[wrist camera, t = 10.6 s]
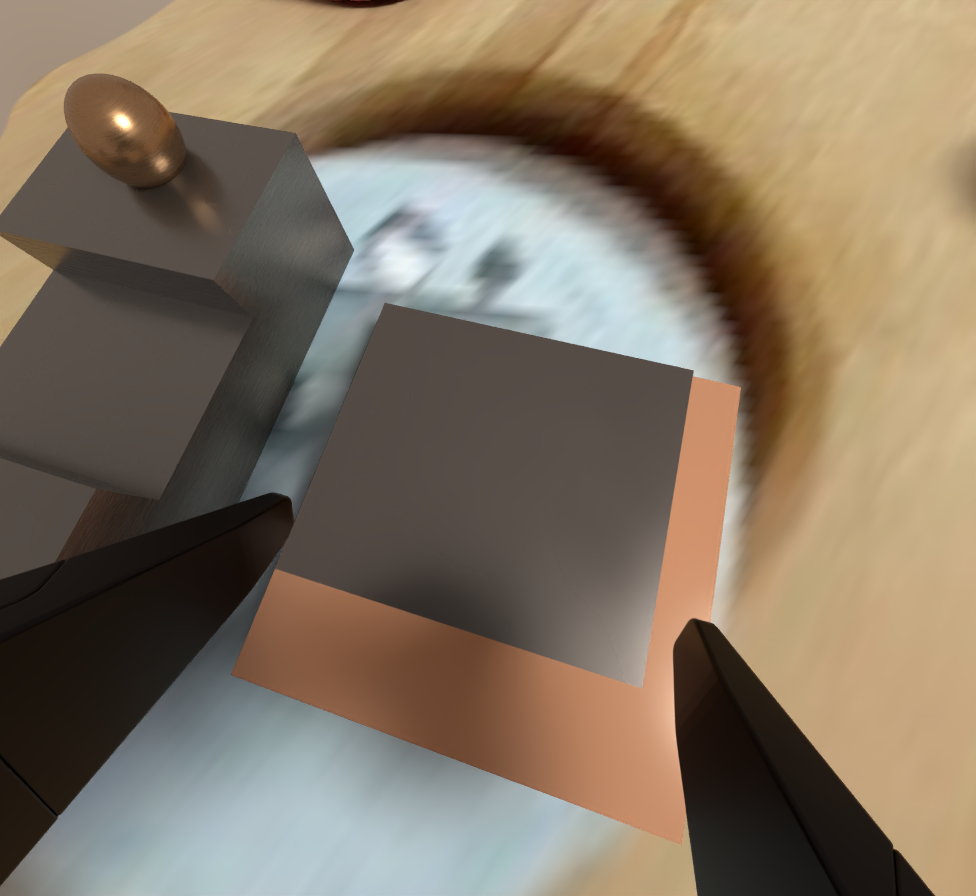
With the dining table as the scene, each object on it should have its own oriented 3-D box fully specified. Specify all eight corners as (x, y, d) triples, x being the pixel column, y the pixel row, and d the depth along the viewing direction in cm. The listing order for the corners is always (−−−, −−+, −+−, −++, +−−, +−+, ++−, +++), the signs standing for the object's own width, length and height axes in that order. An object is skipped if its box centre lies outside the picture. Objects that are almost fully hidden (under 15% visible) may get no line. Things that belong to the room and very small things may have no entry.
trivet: (655, 801, 13) (681, 844, 11) (268, 659, 14) (231, 674, 12) (713, 408, 16) (740, 387, 14) (397, 334, 18) (384, 307, 16)
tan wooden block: (561, 610, 12) (641, 689, 5) (413, 564, 13) (275, 568, 5) (589, 479, 14) (693, 370, 6) (452, 443, 14) (385, 303, 6)
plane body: (154, 685, 14) (-259, 827, 7) (-39, 609, 15) (-579, 656, 8) (354, 249, 19) (251, 45, 12) (197, 217, 21) (11, 12, 13)
